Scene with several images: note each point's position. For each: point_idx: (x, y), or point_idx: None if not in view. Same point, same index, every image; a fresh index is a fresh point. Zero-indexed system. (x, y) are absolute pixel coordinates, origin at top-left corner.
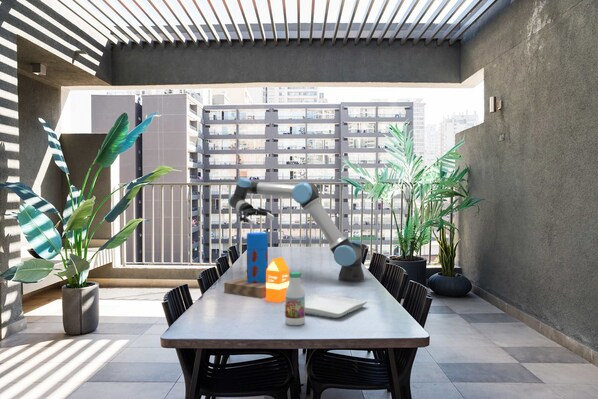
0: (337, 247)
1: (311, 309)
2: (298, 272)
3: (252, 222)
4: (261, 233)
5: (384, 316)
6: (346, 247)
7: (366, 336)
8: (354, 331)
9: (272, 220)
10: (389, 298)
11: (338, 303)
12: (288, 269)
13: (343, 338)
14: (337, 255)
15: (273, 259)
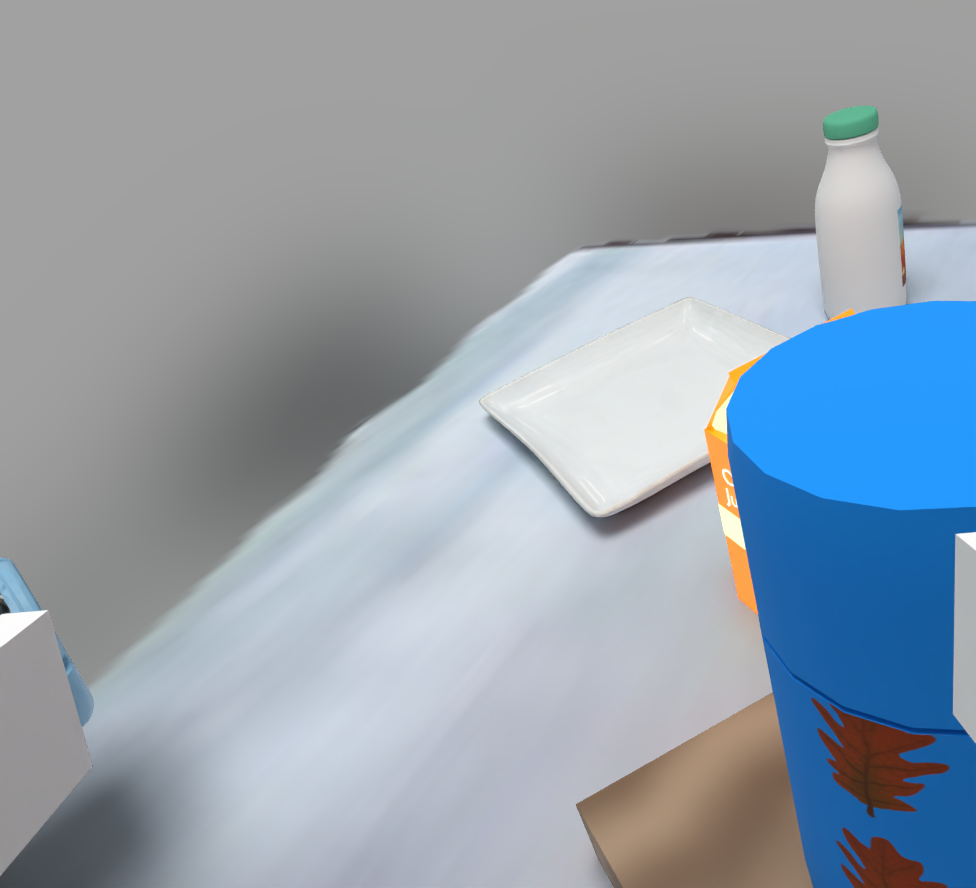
0: (17, 604)
1: (761, 332)
2: (833, 117)
3: (969, 600)
4: (841, 376)
5: (522, 347)
6: (10, 560)
7: (699, 247)
8: (706, 267)
9: (74, 781)
10: (292, 503)
11: (560, 447)
12: (712, 427)
13: (767, 237)
14: (66, 653)
15: (842, 317)
